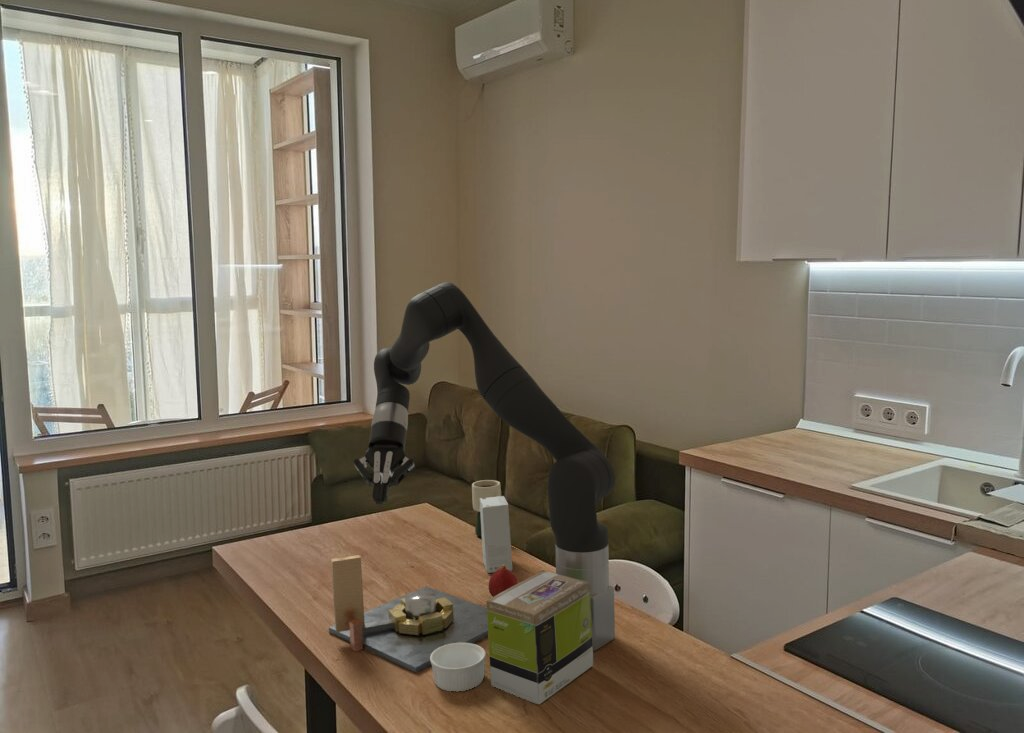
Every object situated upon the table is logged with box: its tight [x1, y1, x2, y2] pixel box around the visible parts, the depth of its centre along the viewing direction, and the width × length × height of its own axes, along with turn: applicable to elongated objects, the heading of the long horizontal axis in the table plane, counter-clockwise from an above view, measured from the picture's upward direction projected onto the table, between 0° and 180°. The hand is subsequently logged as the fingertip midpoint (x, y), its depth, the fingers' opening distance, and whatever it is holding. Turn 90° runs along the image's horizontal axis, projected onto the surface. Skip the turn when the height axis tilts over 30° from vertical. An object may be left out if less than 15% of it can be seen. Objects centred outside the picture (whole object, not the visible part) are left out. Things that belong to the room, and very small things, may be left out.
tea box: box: [486, 570, 594, 705], centre depth 128 cm, size 15×10×15 cm, turn 141°
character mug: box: [471, 479, 502, 537], centre depth 198 cm, size 11×7×13 cm, turn 40°
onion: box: [488, 565, 519, 598], centre depth 157 cm, size 6×6×8 cm
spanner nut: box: [330, 554, 454, 635], centre depth 147 cm, size 21×12×14 cm, turn 95°
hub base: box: [328, 586, 488, 674], centre depth 147 cm, size 24×26×6 cm
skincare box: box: [480, 495, 513, 574], centre depth 177 cm, size 8×6×15 cm
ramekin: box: [430, 643, 486, 693], centre depth 129 cm, size 9×9×4 cm
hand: (379, 502), depth 160 cm, fingers closed
